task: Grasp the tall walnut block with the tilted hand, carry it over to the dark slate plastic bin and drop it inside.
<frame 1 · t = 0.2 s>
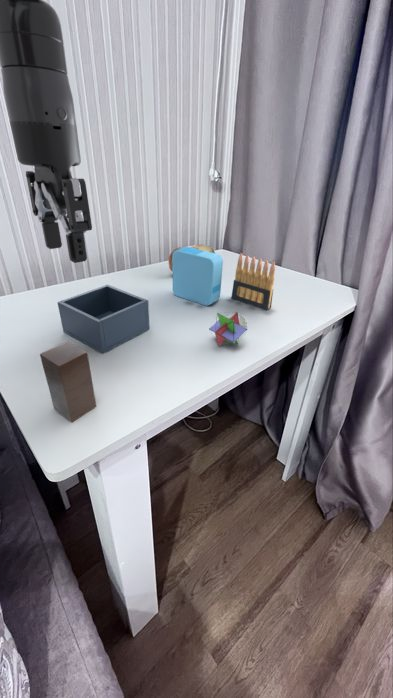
hand: (66, 254, 49), 20 cm above the table, tool pointing down, fingers open, 8 cm apart
geometric puzzle: (226, 343, 68), on the table
block: (75, 407, 50), on the table
ammunition clip: (250, 303, 85), on the table
tin: (191, 274, 101), on the table
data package: (195, 298, 86), on the table
bin: (107, 330, 70), on the table
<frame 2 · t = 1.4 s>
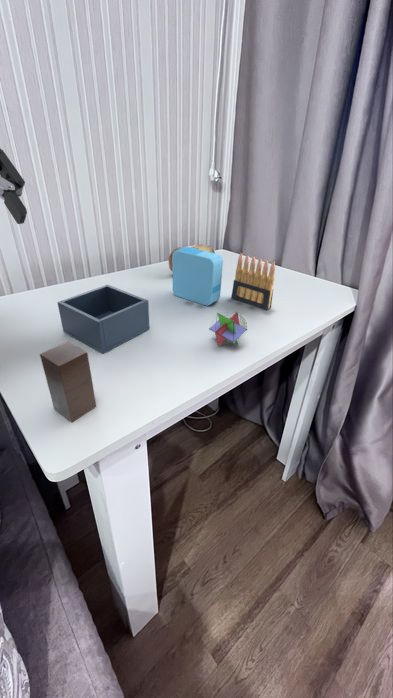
nothing on the table moved.
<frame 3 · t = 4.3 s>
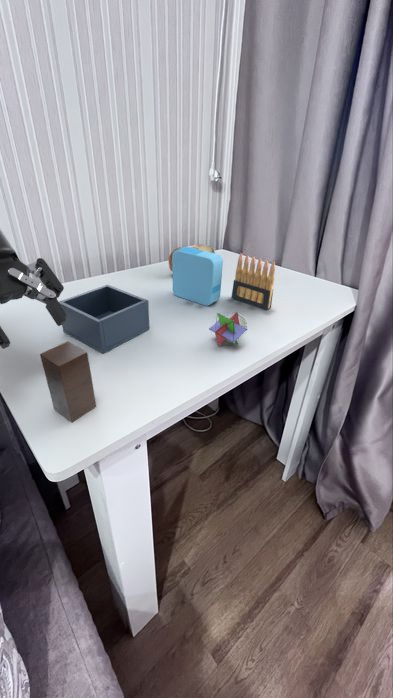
hand: (36, 334, 48), 11 cm above the table, tool tilted 45°, fingers open, 8 cm apart
nothing on the table moved.
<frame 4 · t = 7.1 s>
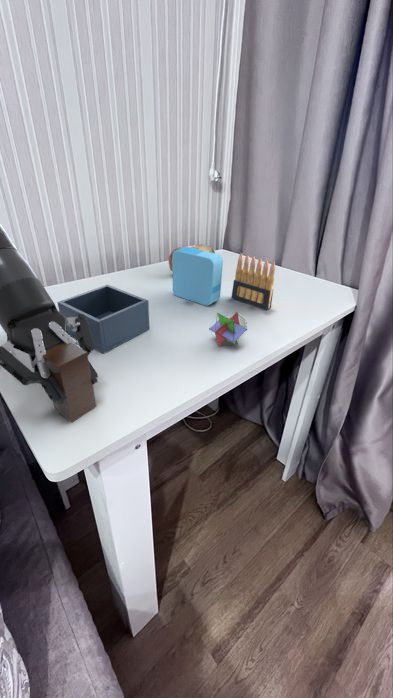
hand: (79, 392, 47), 4 cm above the table, tool tilted 45°, fingers closed on block, 4 cm apart
block: (75, 407, 50), on the table, touching gripper
everything else where it was.
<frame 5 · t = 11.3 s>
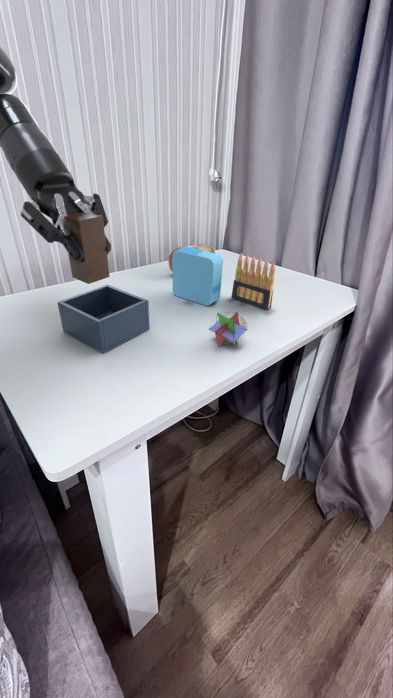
hand: (95, 255, 54), 18 cm above the table, tool tilted 45°, fingers closed on block, 4 cm apart
block: (91, 277, 57), point 14 cm above the table, touching gripper
everything else where it was.
when the fingers open (5 cm above the table, at t = 16.2 s): block stays where it is, resting on bin.
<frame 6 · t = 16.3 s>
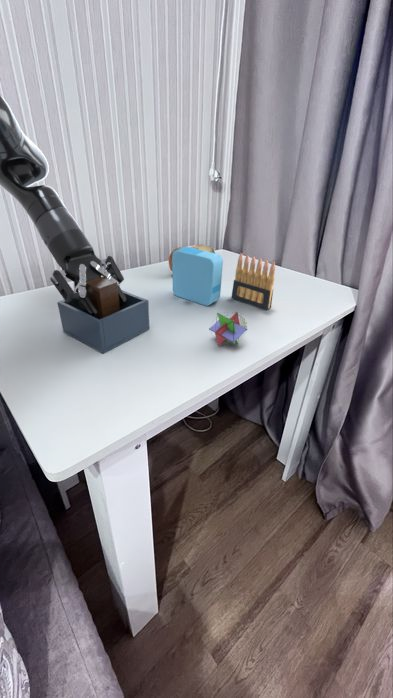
hand: (109, 310, 66), 5 cm above the table, tool tilted 45°, fingers open, 7 cm apart
block: (106, 327, 70), point 1 cm above the table, touching bin
everything else where it was.
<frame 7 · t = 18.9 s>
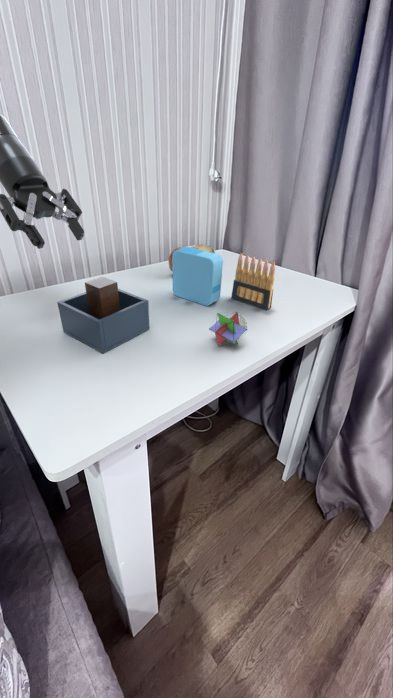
hand: (62, 241, 64), 17 cm above the table, tool tilted 45°, fingers open, 8 cm apart
nothing on the table moved.
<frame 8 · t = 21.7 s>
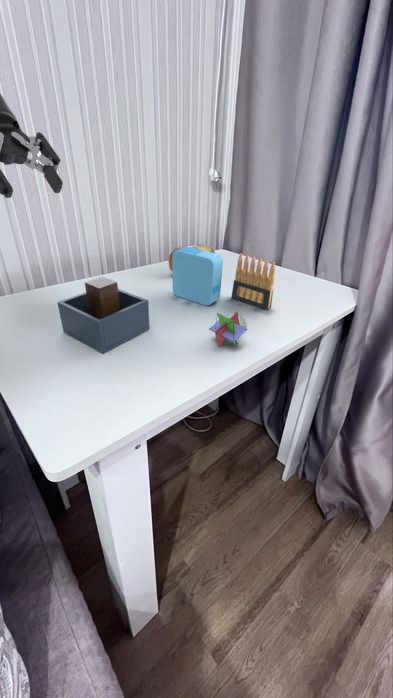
hand: (36, 192, 54), 27 cm above the table, tool tilted 45°, fingers open, 8 cm apart
nothing on the table moved.
at the end: block inside the target area in the bin (0.1 cm from its centre), point 0.8 cm above the bin's base; the gripper is holding nothing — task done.
